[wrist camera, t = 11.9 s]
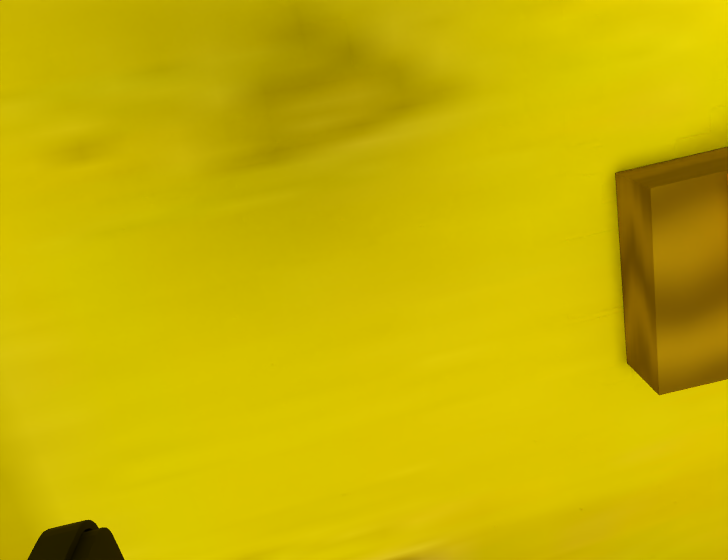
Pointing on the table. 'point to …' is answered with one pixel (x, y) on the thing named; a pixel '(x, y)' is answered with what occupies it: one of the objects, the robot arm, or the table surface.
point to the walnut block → (676, 269)
